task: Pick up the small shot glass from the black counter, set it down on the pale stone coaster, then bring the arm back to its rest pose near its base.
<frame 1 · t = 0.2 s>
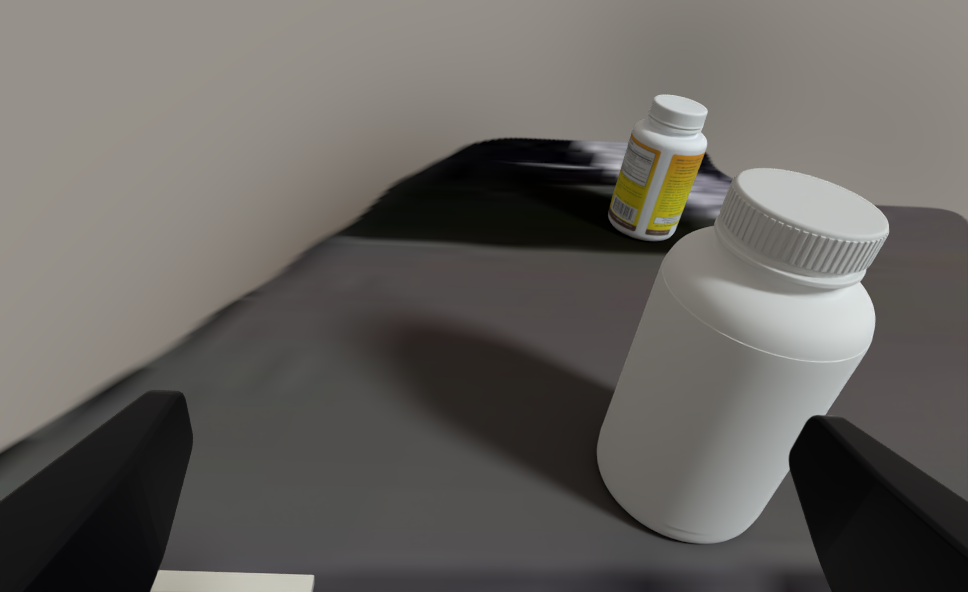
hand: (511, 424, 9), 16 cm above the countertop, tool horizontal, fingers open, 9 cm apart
pill bottle: (670, 477, 30), on the countertop
supplement bottle: (638, 228, 51), on the countertop
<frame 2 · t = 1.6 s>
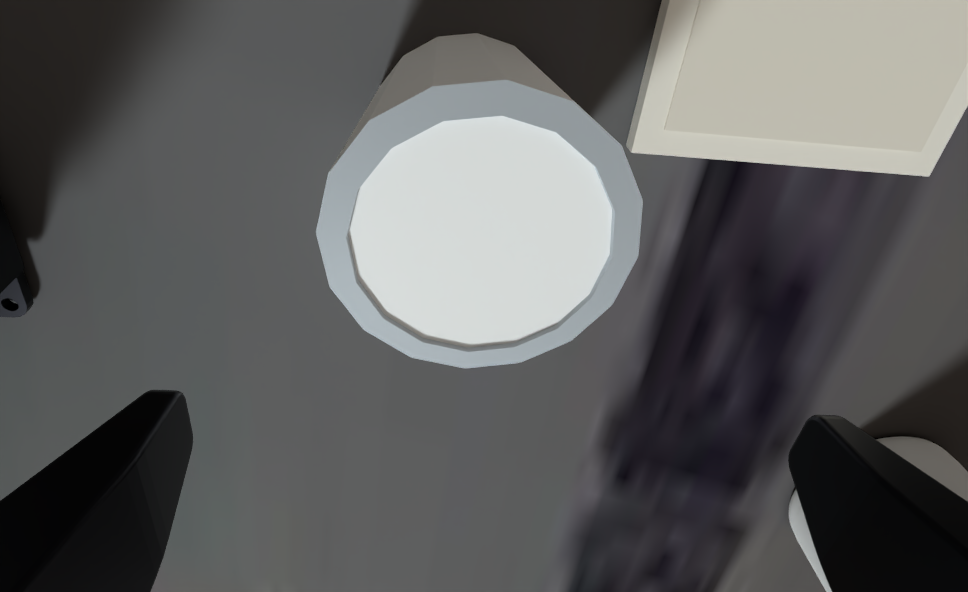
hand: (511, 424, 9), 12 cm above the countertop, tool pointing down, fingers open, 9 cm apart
shot glass: (465, 129, 19), on the countertop
pill bottle: (863, 484, 31), on the countertop
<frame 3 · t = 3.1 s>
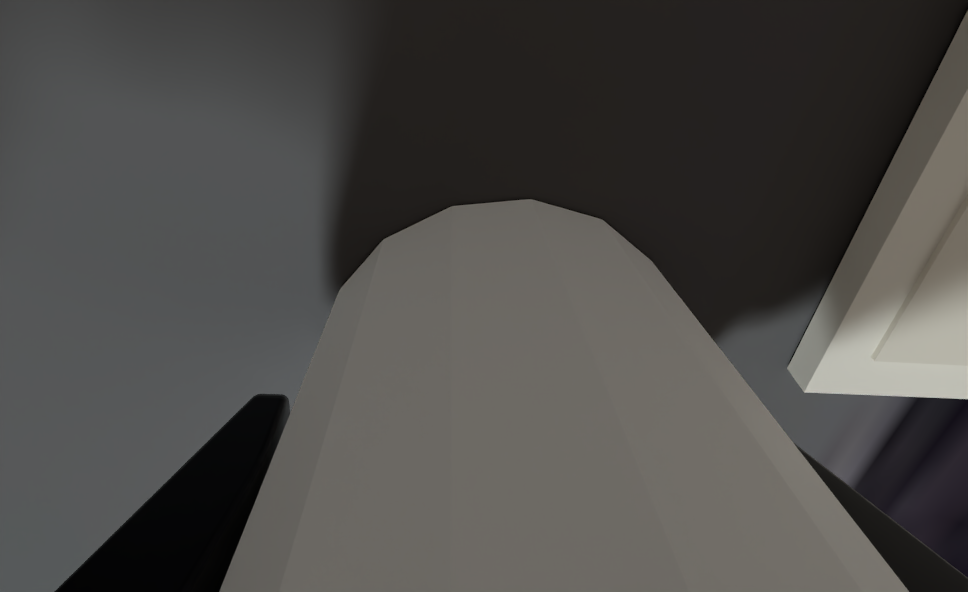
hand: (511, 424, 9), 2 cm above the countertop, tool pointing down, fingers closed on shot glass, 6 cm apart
shot glass: (500, 347, 10), on the countertop, touching gripper
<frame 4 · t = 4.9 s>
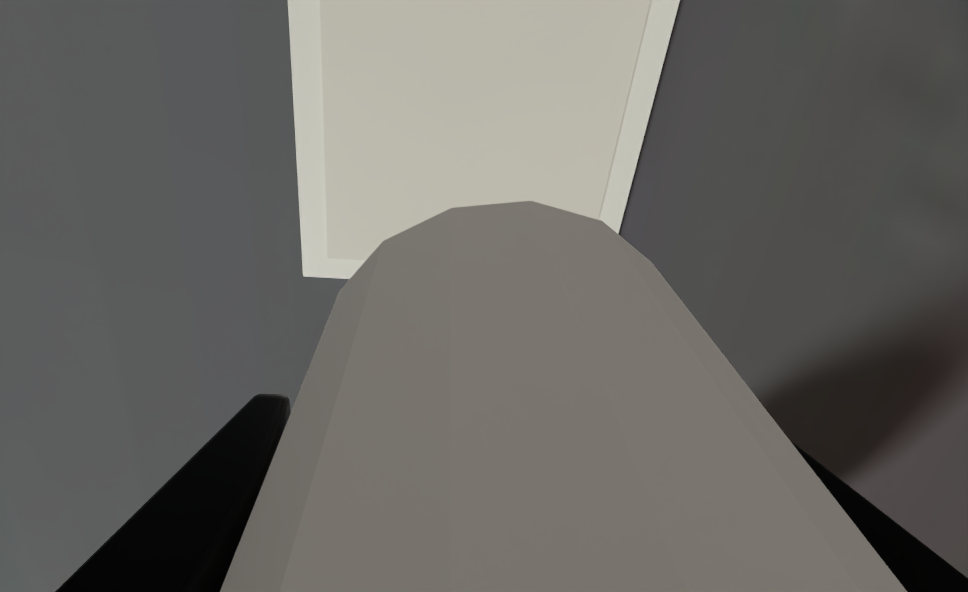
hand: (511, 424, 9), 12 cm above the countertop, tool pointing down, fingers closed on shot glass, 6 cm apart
coaster: (471, 132, 19), on the countertop
shot glass: (500, 349, 10), point 10 cm above the countertop, touching gripper
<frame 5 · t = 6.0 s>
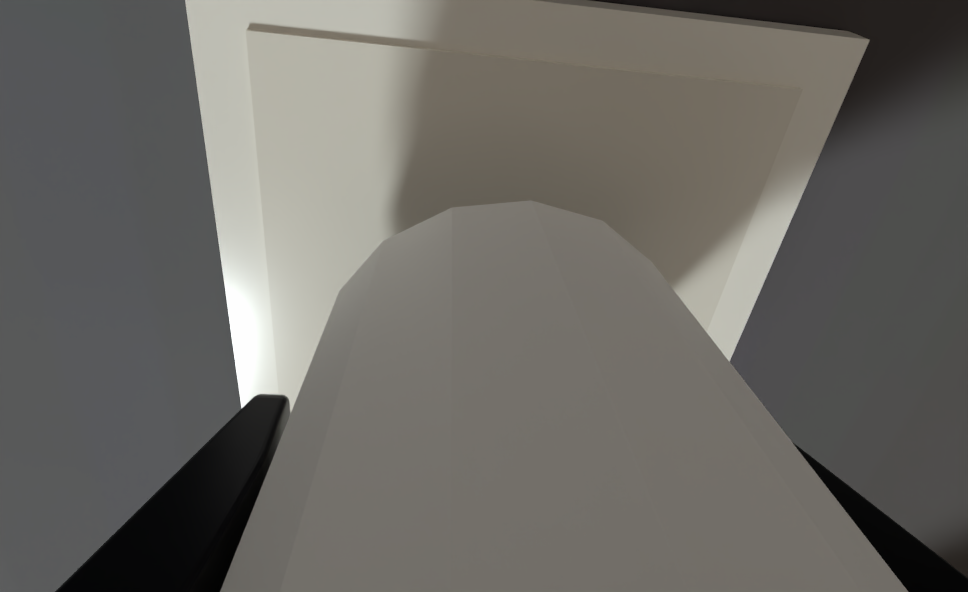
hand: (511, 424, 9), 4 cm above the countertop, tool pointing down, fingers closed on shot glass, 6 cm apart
coaster: (498, 274, 12), on the countertop
shot glass: (500, 349, 10), point 2 cm above the countertop, touching gripper
when the fingers open (3 cm above the countertop, at t = 6.6 s): shot glass stays where it is, resting on coaster.
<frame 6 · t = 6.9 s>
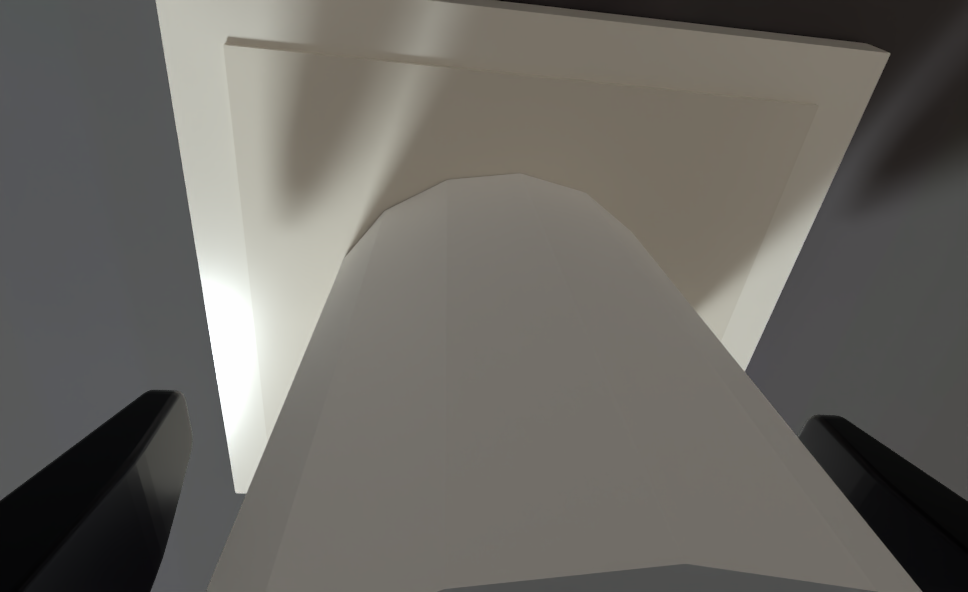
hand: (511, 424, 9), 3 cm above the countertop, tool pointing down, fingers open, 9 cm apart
coaster: (495, 297, 12), on the countertop
shot glass: (492, 315, 11), point 1 cm above the countertop, touching coaster
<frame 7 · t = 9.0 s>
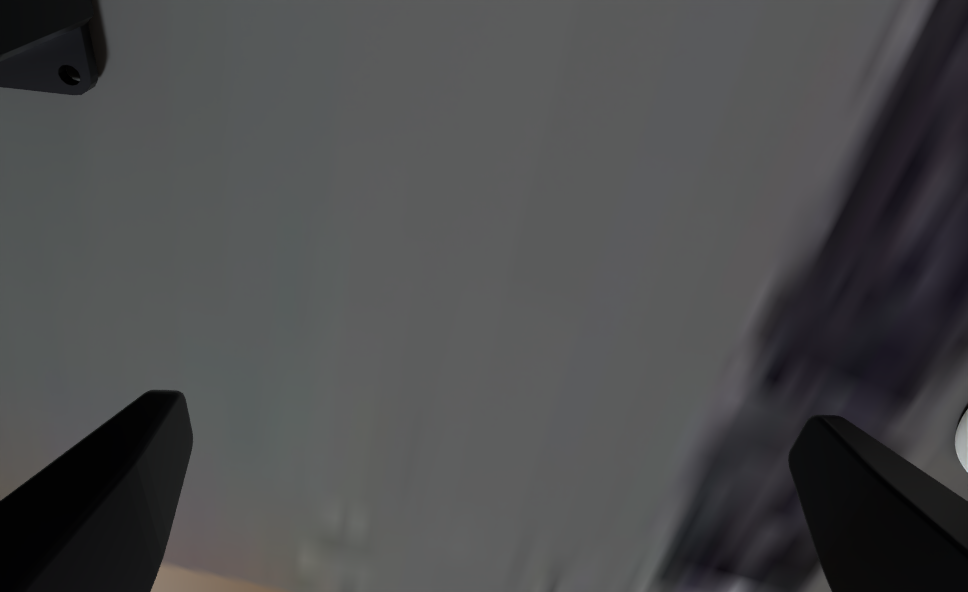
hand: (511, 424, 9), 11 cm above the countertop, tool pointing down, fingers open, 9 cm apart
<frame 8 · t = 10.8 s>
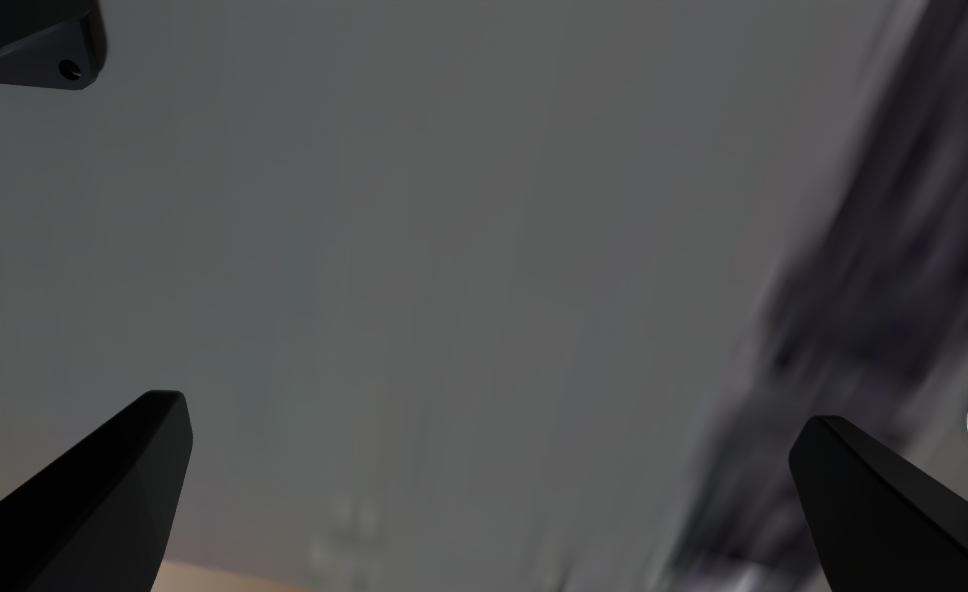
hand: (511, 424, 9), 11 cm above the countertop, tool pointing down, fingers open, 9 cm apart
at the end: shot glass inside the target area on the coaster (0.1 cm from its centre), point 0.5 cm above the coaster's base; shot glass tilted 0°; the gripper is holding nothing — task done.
